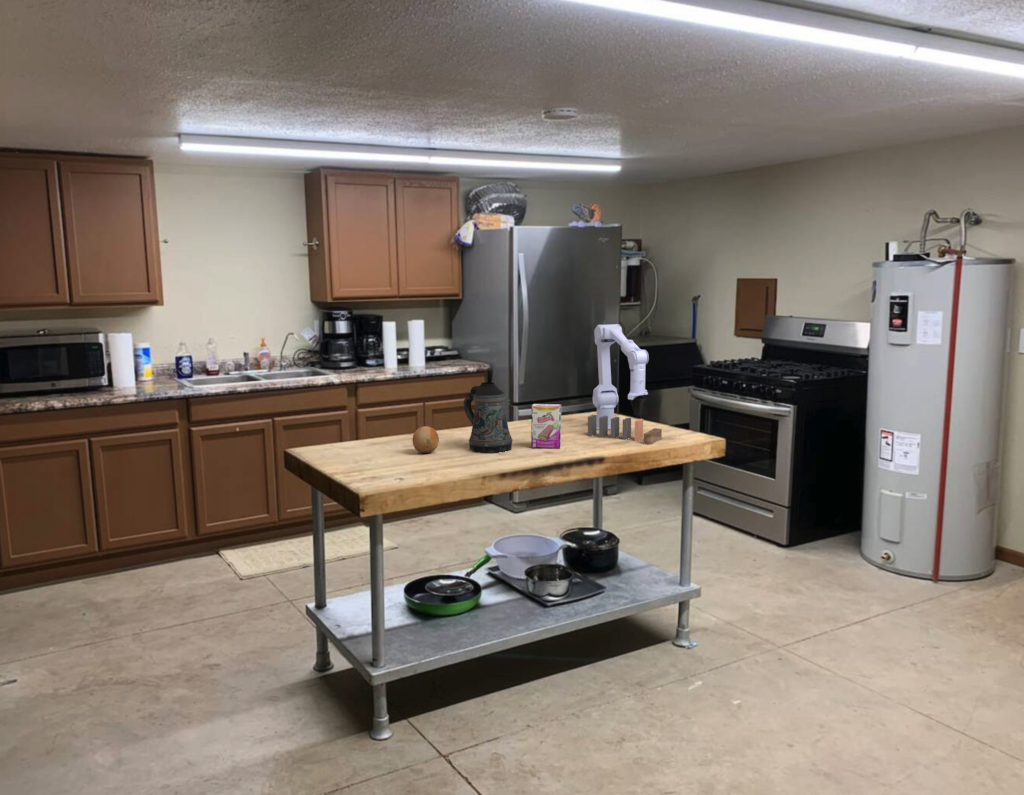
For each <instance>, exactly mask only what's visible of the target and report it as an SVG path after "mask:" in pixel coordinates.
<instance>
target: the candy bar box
mask: <svg viewBox="0 0 1024 795" xmlns="http://www.w3.org/2000/svg"><path fill="white" fill-rule="evenodd" d="M530 426H531V432H530V434H531V436H530V438H531V439H530V441H531V443H530V444H531V445H530V446H531V448H530V449H551V448H557V449H559V450H560V449H561V447H562V404H555V403H554V404H552V403H551V404H550V403H549V404H547V403H545V404H544V403H533V404H532V405H531V425H530Z"/></svg>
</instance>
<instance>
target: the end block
mask: <svg viewBox="0 0 1024 795" xmlns="http://www.w3.org/2000/svg"><path fill="white" fill-rule="evenodd" d="M662 431H663V430H662V428H658V427H657V428H655V427H654V428H652V429H650V430H649V431H647V432H643V444H644V443H645V444H644V445H649V444H651V445H653V444H655V443H656V441H657V440H658V441H660V440H662ZM659 439H660V440H659ZM658 441H657V442H658ZM654 442H655V443H654ZM652 443H653V444H652Z"/></svg>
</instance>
